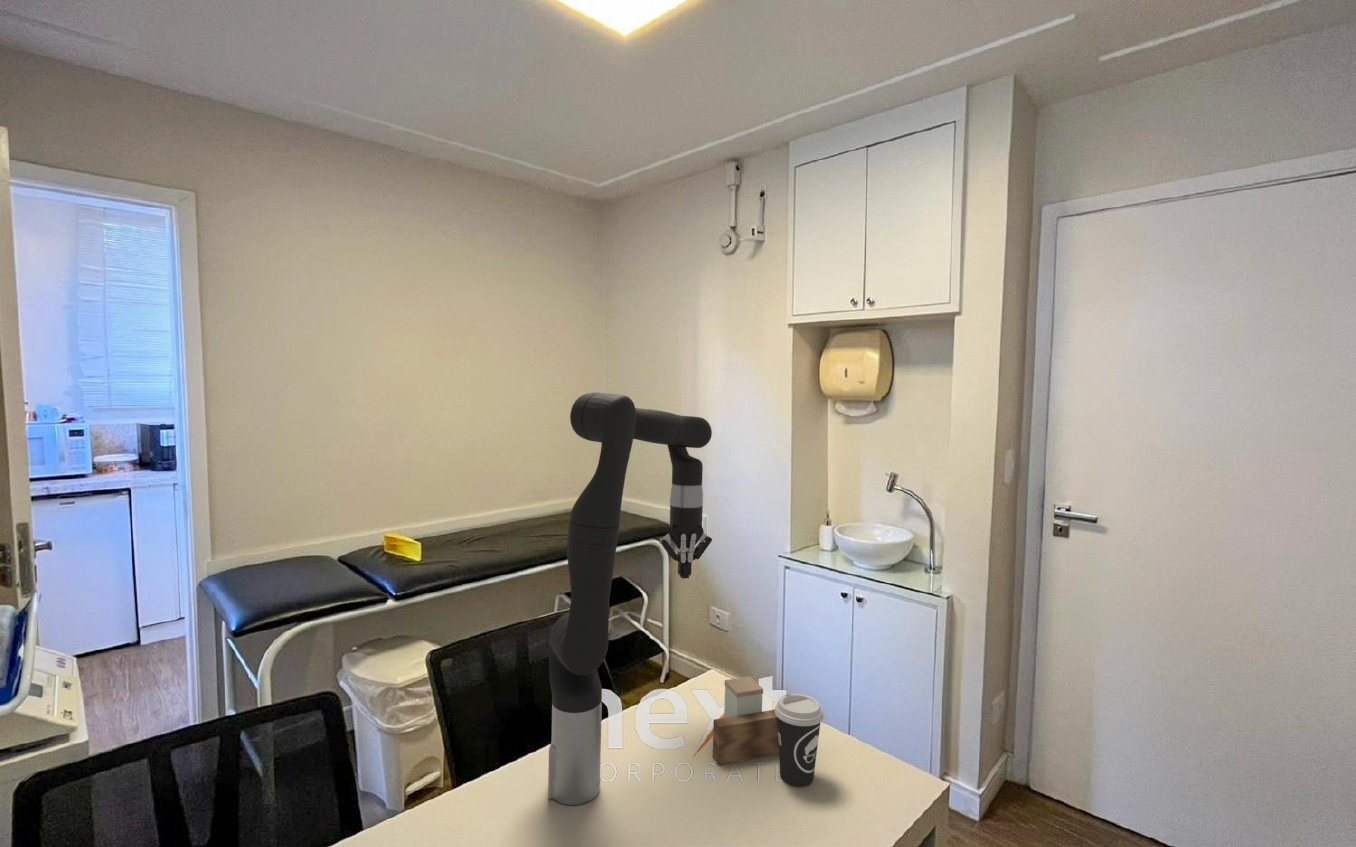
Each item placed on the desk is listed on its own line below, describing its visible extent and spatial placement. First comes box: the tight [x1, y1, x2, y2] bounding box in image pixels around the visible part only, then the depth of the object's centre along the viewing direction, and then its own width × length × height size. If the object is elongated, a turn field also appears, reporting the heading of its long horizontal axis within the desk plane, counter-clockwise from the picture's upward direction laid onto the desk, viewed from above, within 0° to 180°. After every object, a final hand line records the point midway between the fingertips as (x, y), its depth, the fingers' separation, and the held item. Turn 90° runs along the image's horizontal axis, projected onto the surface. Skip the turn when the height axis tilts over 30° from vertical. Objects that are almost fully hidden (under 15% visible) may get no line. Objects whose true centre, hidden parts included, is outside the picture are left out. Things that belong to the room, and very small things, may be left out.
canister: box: [723, 676, 764, 718], centre depth 136 cm, size 6×6×13 cm
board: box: [712, 709, 779, 766], centre depth 131 cm, size 16×3×8 cm, turn 110°
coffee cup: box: [773, 693, 825, 788], centre depth 124 cm, size 10×10×15 cm
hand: (684, 577), depth 145 cm, fingers closed
